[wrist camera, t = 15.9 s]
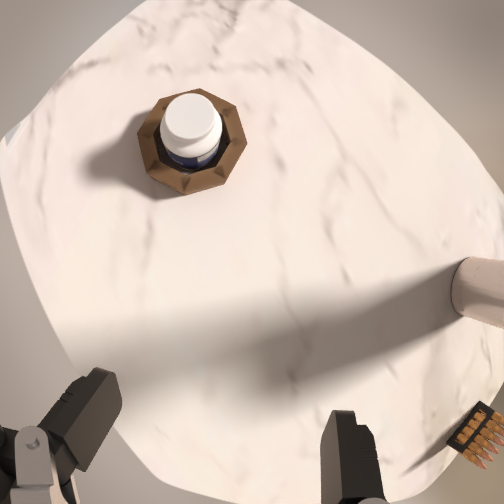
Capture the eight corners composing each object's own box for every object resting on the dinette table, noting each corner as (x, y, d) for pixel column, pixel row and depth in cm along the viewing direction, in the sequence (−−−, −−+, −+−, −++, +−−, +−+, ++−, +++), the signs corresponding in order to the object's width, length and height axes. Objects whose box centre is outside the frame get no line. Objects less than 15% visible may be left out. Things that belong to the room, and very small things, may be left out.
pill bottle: (157, 147, 31) (141, 115, 21) (194, 114, 31) (193, 73, 21) (191, 181, 31) (186, 161, 22) (228, 148, 32) (239, 116, 22)
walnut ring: (225, 93, 31) (227, 81, 28) (251, 176, 32) (255, 171, 29) (137, 117, 30) (131, 108, 27) (158, 204, 31) (154, 201, 28)
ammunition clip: (448, 445, 42) (483, 473, 30) (445, 442, 42) (481, 471, 30) (481, 403, 43) (520, 426, 31) (479, 400, 42) (518, 423, 31)
